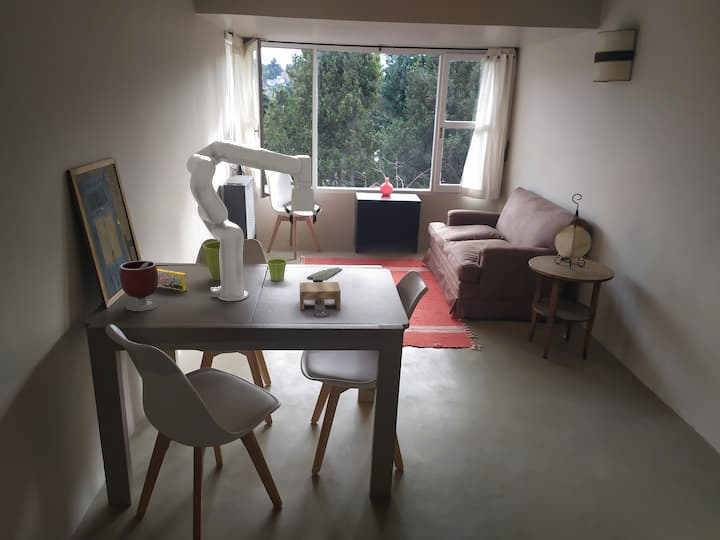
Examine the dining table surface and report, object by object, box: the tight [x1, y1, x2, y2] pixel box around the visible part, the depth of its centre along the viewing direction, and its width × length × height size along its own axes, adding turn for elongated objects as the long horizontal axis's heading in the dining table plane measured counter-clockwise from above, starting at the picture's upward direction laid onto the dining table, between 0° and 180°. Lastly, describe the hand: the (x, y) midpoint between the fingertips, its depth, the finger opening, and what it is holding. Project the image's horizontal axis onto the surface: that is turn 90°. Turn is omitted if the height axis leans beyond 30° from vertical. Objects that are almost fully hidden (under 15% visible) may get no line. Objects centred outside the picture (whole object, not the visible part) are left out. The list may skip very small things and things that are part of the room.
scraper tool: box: [312, 277, 326, 310], centre depth 225 cm, size 4×21×7 cm, turn 7°
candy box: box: [157, 268, 187, 290], centre depth 235 cm, size 16×2×8 cm, turn 68°
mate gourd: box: [119, 260, 158, 307], centre depth 212 cm, size 16×14×20 cm
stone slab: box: [306, 267, 342, 282], centre depth 263 cm, size 22×3×10 cm
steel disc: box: [314, 309, 329, 318], centre depth 210 cm, size 5×5×2 cm
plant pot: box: [266, 258, 288, 282], centre depth 252 cm, size 9×9×9 cm
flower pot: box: [202, 241, 221, 281], centre depth 251 cm, size 15×15×16 cm
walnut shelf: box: [299, 281, 342, 312], centre depth 219 cm, size 16×12×8 cm
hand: (303, 223), depth 238 cm, fingers open, 9 cm apart
